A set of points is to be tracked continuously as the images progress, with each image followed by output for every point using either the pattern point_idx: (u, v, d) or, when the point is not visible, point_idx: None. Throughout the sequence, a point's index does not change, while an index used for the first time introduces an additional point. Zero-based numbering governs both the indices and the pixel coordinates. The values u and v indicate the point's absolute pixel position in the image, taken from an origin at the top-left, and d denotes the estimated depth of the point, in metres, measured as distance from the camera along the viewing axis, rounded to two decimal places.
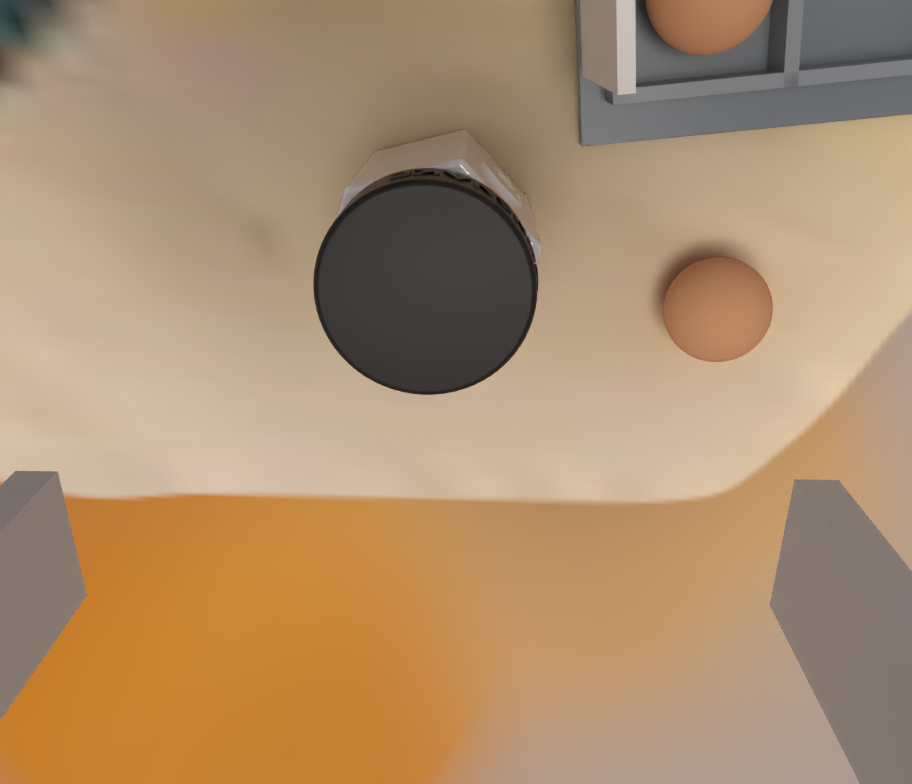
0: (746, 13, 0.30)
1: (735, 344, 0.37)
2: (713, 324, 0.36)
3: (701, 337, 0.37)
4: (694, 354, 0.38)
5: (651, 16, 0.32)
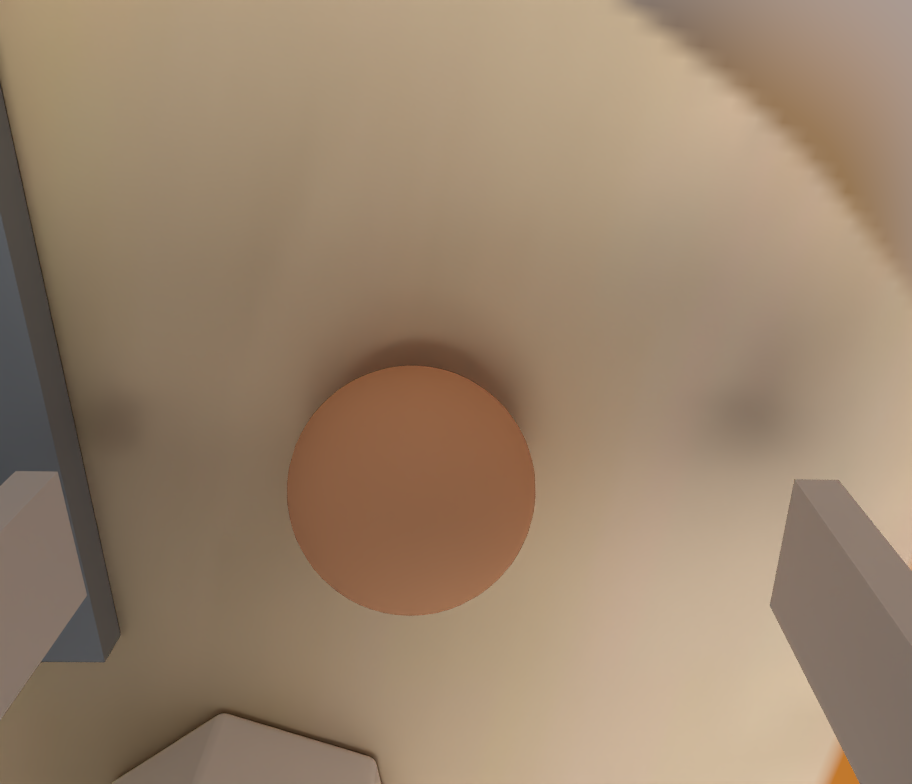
0: None
1: (454, 543, 0.14)
2: (395, 593, 0.15)
3: (434, 604, 0.15)
4: None
5: None
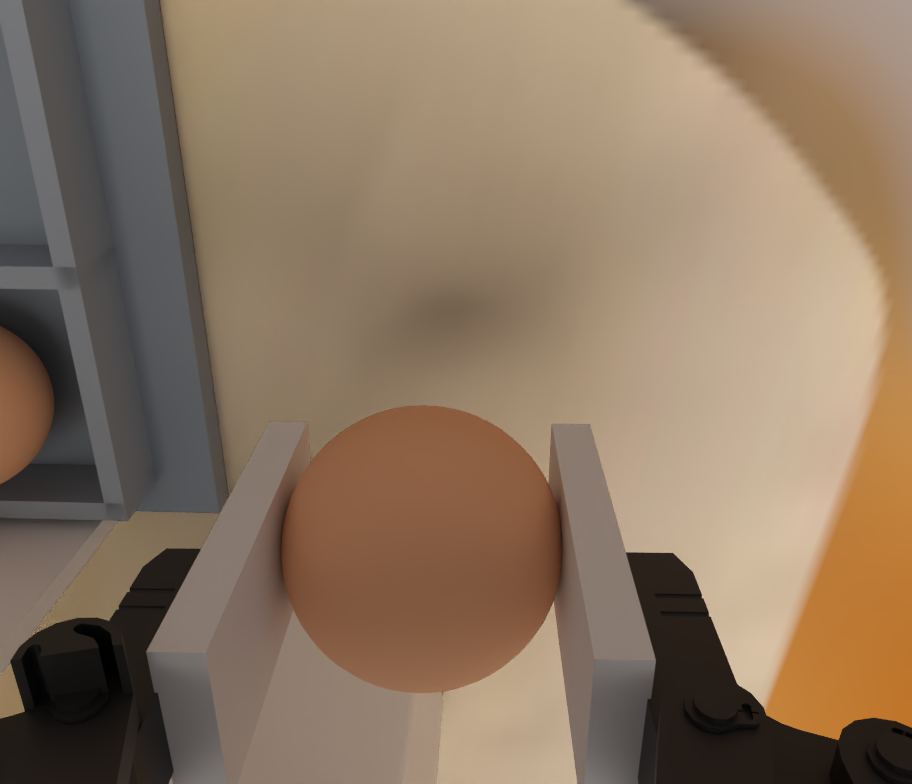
0: None
1: (470, 620, 0.12)
2: (401, 674, 0.13)
3: (446, 684, 0.13)
4: (518, 653, 0.14)
5: None
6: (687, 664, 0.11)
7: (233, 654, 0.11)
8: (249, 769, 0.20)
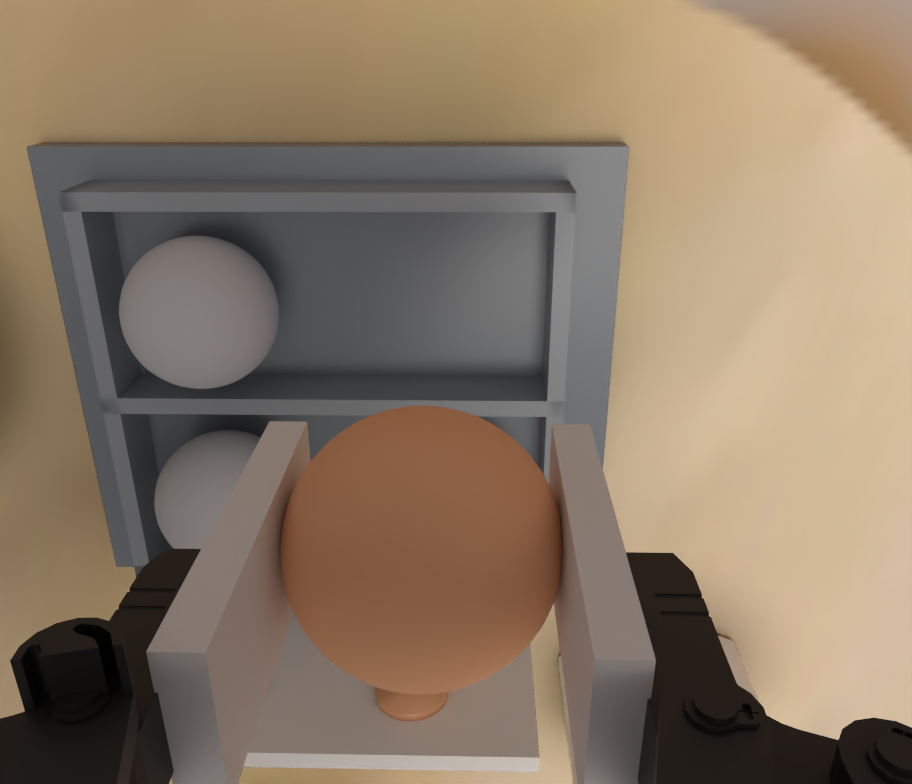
0: None
1: (470, 621, 0.12)
2: (401, 675, 0.13)
3: (446, 685, 0.13)
4: None
5: None
6: (687, 665, 0.11)
7: (233, 654, 0.11)
8: None
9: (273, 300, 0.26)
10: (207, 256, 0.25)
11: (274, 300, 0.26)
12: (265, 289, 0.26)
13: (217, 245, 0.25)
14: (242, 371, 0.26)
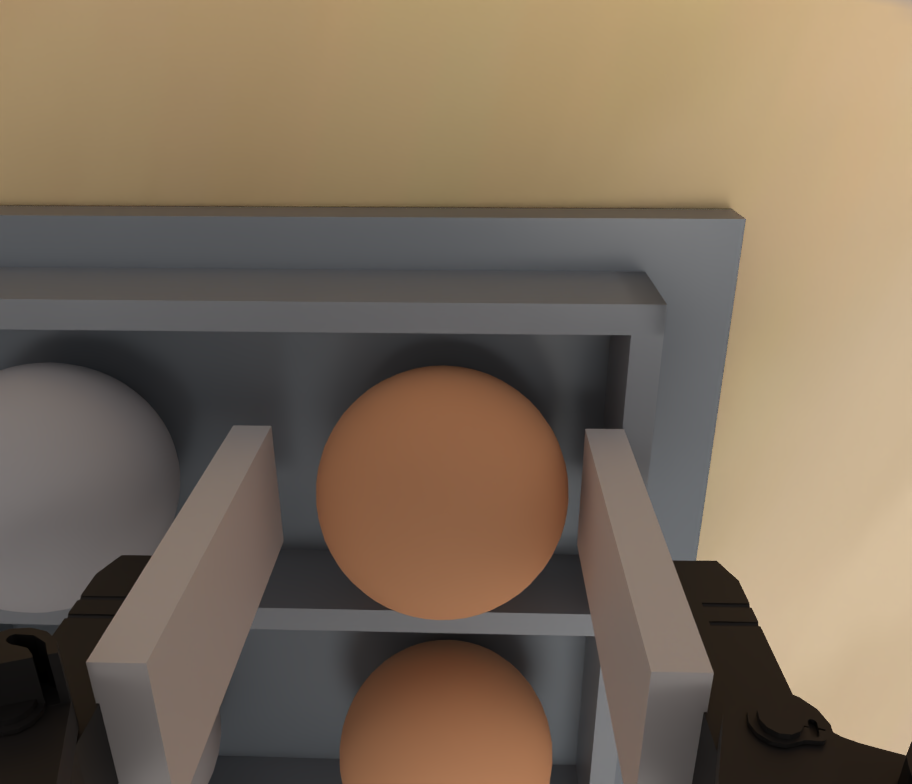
0: None
1: (486, 548, 0.14)
2: (425, 597, 0.14)
3: (464, 609, 0.15)
4: (528, 585, 0.15)
5: None
6: (740, 676, 0.10)
7: (180, 663, 0.11)
8: None
9: (164, 469, 0.16)
10: (41, 411, 0.15)
11: (166, 468, 0.16)
12: (148, 456, 0.16)
13: (64, 387, 0.15)
14: None
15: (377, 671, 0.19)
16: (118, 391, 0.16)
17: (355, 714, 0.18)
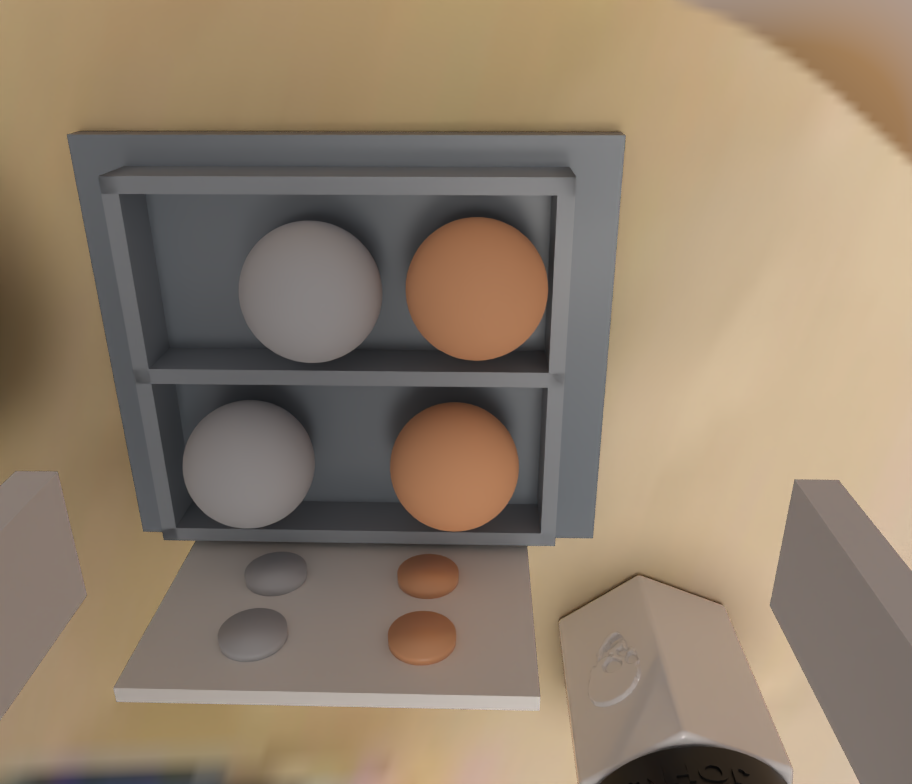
0: (481, 474, 0.29)
1: (524, 299, 0.26)
2: (493, 333, 0.26)
3: (510, 341, 0.27)
4: None
5: None
6: None
7: None
8: (690, 718, 0.30)
9: None
10: (343, 230, 0.28)
11: None
12: None
13: (328, 223, 0.28)
14: None
15: None
16: None
17: (400, 437, 0.30)
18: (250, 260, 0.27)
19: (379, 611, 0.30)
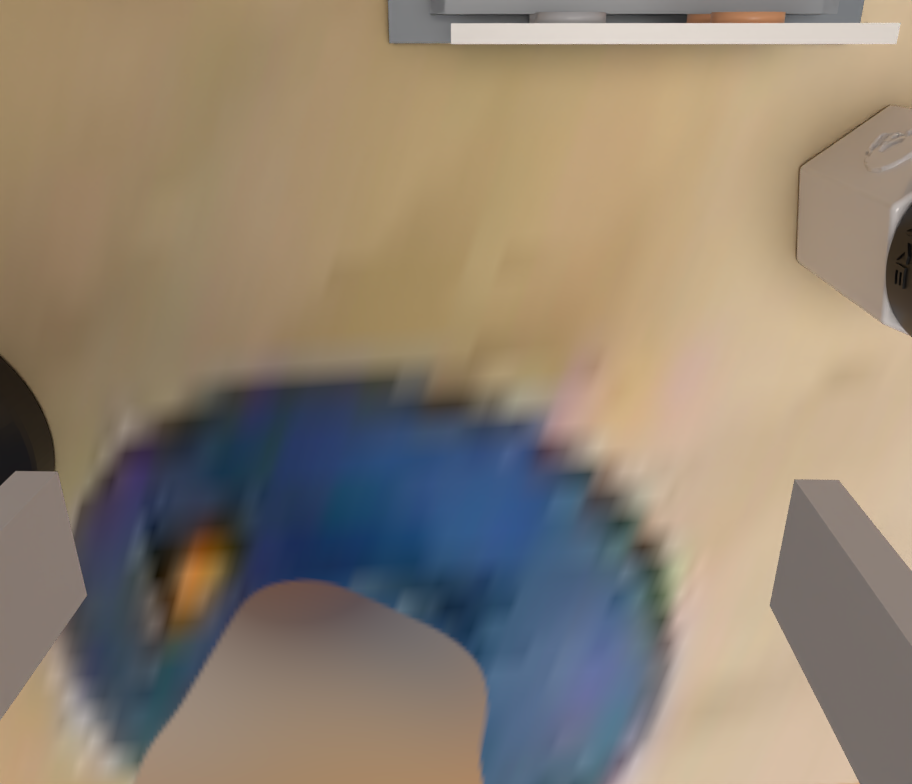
0: None
1: None
2: None
3: None
4: None
5: None
6: None
7: None
8: None
9: None
10: None
11: None
12: None
13: None
14: None
15: None
16: None
17: None
18: None
19: None
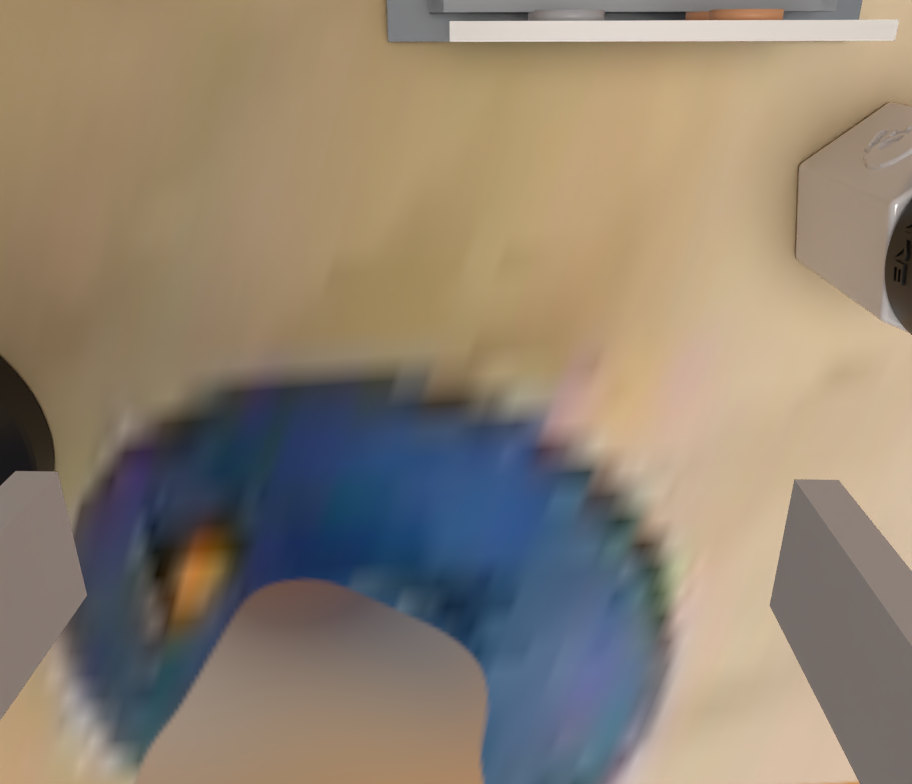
0: None
1: None
2: None
3: None
4: None
5: None
6: None
7: None
8: None
9: None
10: None
11: None
12: None
13: None
14: None
15: None
16: None
17: None
18: None
19: None
